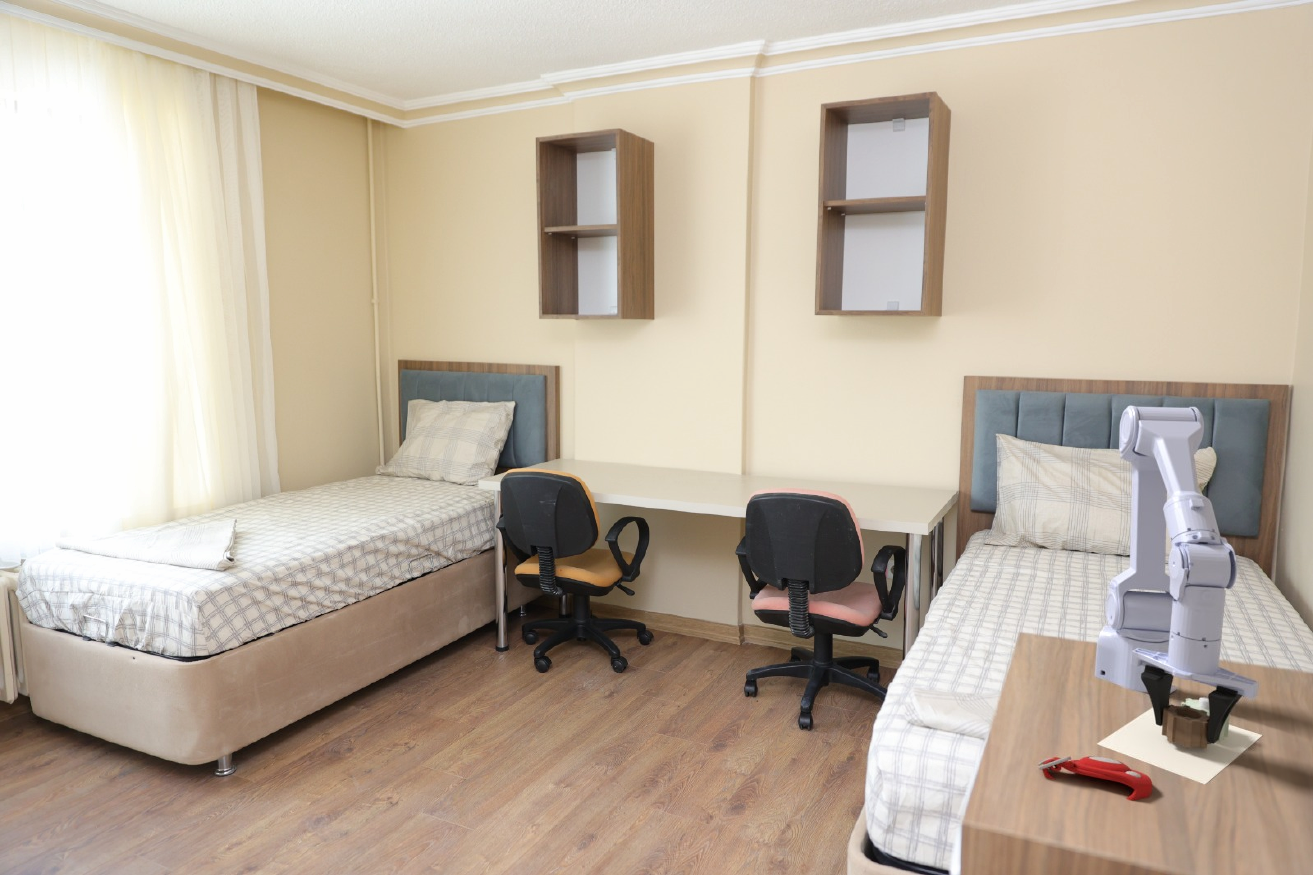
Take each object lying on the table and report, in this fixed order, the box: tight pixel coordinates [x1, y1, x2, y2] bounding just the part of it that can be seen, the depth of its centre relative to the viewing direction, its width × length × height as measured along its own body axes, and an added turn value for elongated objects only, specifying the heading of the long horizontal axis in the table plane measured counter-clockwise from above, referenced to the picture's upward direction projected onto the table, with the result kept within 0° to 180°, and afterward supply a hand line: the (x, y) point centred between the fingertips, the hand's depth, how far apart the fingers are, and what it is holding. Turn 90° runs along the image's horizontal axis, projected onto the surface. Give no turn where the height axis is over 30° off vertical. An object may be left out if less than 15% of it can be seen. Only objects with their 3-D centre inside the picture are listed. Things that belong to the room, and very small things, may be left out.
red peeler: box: [1038, 755, 1154, 801], centre depth 108 cm, size 12×4×10 cm
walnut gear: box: [1162, 704, 1211, 749], centre depth 116 cm, size 5×5×4 cm
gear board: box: [1096, 697, 1263, 785], centre depth 118 cm, size 13×20×6 cm, turn 129°
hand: (1186, 731), depth 116 cm, fingers open, 6 cm apart
